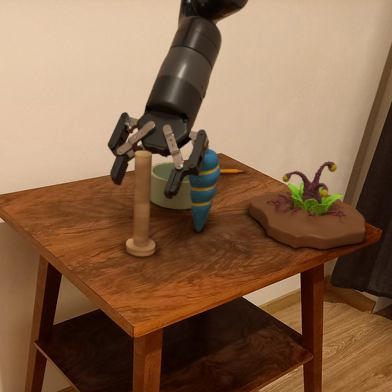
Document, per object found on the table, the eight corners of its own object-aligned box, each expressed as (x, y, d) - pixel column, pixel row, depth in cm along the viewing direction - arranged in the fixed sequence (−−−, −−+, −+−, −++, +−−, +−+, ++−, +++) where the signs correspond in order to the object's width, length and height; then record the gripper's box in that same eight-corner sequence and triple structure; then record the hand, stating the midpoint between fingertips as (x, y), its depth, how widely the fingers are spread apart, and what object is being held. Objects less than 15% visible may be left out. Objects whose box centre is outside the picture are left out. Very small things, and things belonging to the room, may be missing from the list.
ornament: (192, 240, 89) (201, 147, 79) (177, 227, 92) (183, 137, 83) (218, 234, 91) (230, 144, 82) (202, 222, 94) (211, 134, 85)
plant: (383, 246, 93) (404, 183, 86) (280, 252, 88) (294, 186, 81) (329, 199, 108) (344, 143, 101) (238, 202, 102) (247, 142, 96)
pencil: (156, 171, 110) (157, 170, 109) (243, 169, 116) (244, 168, 115) (156, 175, 110) (157, 174, 110) (243, 173, 116) (244, 172, 115)
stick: (121, 253, 83) (122, 155, 74) (131, 240, 87) (132, 145, 77) (150, 258, 82) (154, 161, 73) (158, 245, 86) (163, 151, 77)
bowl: (141, 203, 98) (142, 176, 95) (157, 183, 106) (158, 158, 103) (195, 213, 97) (198, 186, 94) (207, 192, 105) (210, 167, 102)
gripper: (128, 64, 78) (88, 166, 76) (219, 82, 74) (179, 189, 73) (144, 97, 85) (108, 190, 84) (228, 114, 81) (191, 212, 80)
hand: (141, 189), depth 78 cm, fingers open, 8 cm apart
